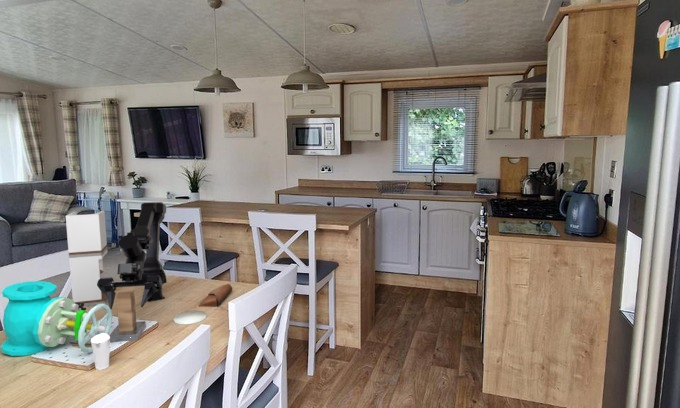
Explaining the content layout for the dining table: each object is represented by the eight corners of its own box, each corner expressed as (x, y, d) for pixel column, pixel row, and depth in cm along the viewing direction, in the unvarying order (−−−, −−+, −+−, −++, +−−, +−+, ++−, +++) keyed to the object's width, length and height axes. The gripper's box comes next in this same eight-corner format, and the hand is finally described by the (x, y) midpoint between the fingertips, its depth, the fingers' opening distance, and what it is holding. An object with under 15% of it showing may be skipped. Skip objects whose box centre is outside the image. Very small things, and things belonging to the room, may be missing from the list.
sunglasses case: (212, 291, 173) (219, 277, 173) (226, 299, 174) (234, 286, 173) (197, 306, 156) (205, 292, 155) (213, 316, 156) (221, 301, 155)
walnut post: (123, 326, 134) (120, 290, 132) (136, 325, 134) (134, 289, 133) (119, 331, 130) (116, 294, 128) (132, 330, 130) (130, 293, 129)
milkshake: (94, 363, 114) (92, 328, 113) (115, 362, 114) (112, 328, 113) (86, 371, 110) (83, 336, 108) (107, 370, 110) (104, 335, 109)
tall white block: (105, 304, 159) (98, 214, 154) (73, 307, 155) (65, 215, 151) (110, 294, 169) (104, 210, 165) (80, 297, 166) (73, 211, 162)
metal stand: (119, 328, 136) (119, 323, 136) (145, 326, 138) (145, 321, 138) (109, 342, 127) (108, 336, 126) (137, 340, 128) (136, 333, 128)
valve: (29, 278, 128) (121, 292, 127) (28, 331, 131) (118, 346, 129) (-13, 293, 114) (90, 309, 113) (-14, 353, 117) (87, 370, 115)
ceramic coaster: (169, 317, 146) (169, 315, 146) (200, 309, 153) (200, 308, 153) (178, 327, 137) (178, 325, 137) (211, 319, 144) (211, 317, 144)
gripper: (97, 253, 132) (85, 298, 123) (158, 251, 136) (151, 294, 126) (107, 271, 141) (97, 314, 131) (165, 268, 145) (159, 309, 135)
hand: (126, 307), depth 131 cm, fingers open, 9 cm apart
